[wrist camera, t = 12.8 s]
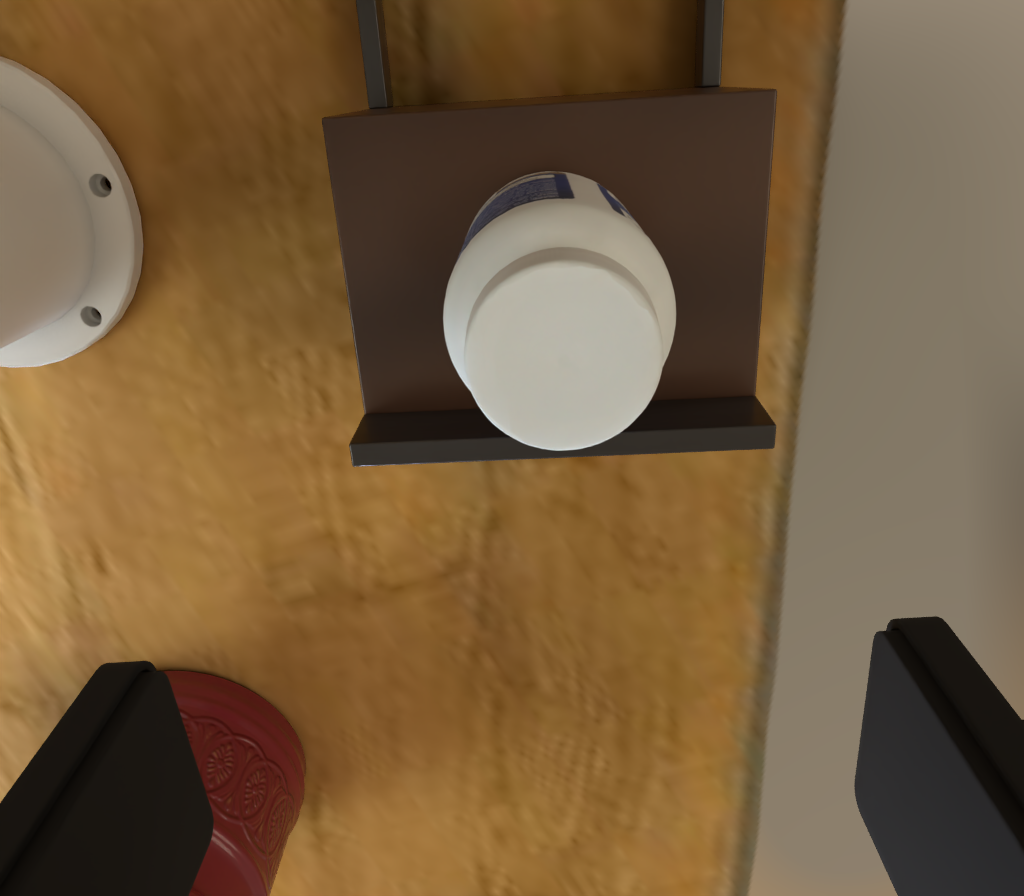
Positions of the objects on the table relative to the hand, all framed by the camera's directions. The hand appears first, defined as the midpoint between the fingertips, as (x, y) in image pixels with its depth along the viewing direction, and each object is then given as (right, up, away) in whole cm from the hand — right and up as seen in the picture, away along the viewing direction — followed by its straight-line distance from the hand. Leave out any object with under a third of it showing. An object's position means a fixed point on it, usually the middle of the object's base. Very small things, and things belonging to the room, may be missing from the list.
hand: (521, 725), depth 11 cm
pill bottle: (+1, +9, +14) cm, 17 cm away
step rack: (+1, +17, +20) cm, 27 cm away
